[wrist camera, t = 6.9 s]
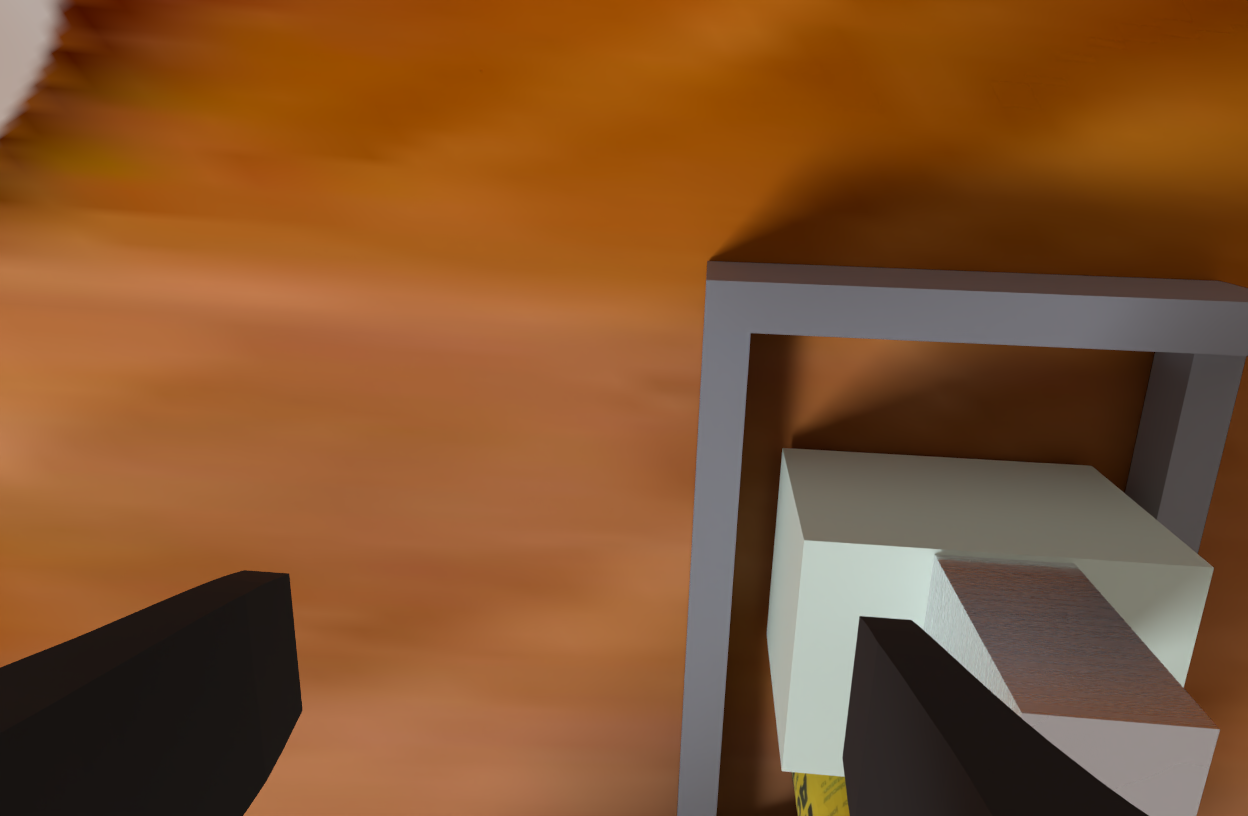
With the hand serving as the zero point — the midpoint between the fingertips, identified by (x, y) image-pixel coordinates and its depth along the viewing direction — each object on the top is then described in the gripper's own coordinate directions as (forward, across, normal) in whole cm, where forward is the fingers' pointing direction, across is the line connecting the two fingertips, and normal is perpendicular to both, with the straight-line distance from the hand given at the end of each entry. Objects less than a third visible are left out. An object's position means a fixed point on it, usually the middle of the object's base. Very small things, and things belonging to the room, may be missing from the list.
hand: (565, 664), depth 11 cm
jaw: (+10, -7, +3) cm, 13 cm away
